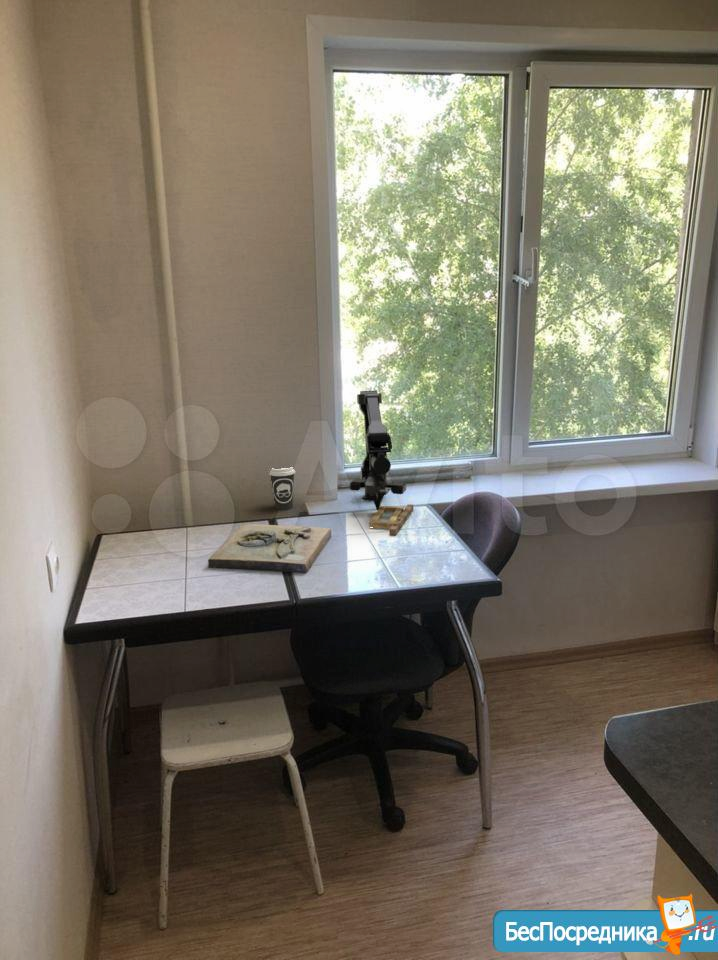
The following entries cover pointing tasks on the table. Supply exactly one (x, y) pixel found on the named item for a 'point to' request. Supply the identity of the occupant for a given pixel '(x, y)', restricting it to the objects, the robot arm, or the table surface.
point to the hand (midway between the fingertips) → (377, 509)
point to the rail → (401, 520)
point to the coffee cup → (283, 487)
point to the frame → (385, 517)
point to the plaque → (271, 548)
